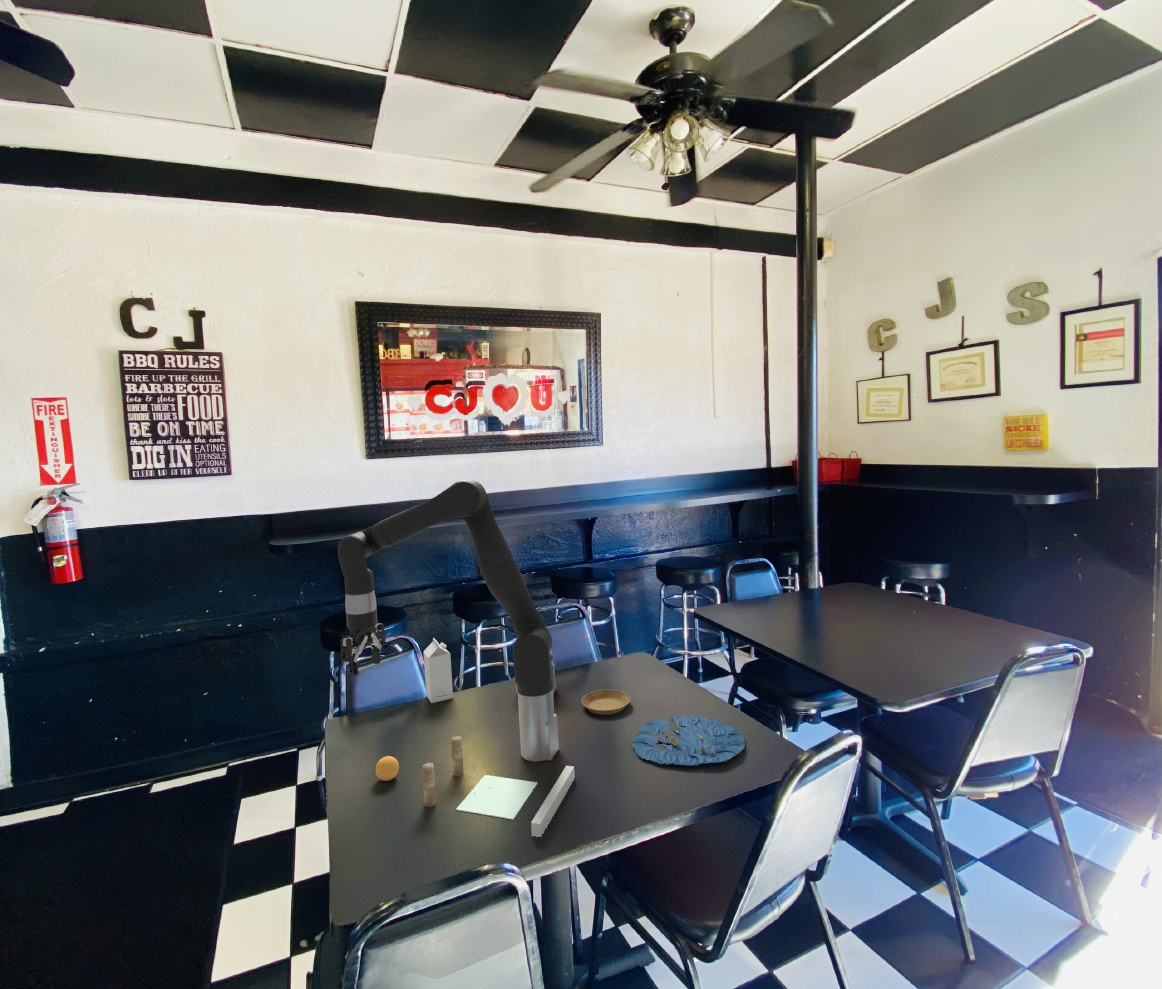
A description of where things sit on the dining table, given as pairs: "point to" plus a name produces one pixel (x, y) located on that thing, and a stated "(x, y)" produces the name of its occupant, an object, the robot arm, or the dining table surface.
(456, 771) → the post right
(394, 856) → the dining table surface
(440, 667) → the milk carton
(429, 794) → the post left
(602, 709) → the plant saucer
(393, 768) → the ball
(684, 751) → the decorative plate
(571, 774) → the rail
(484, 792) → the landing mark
